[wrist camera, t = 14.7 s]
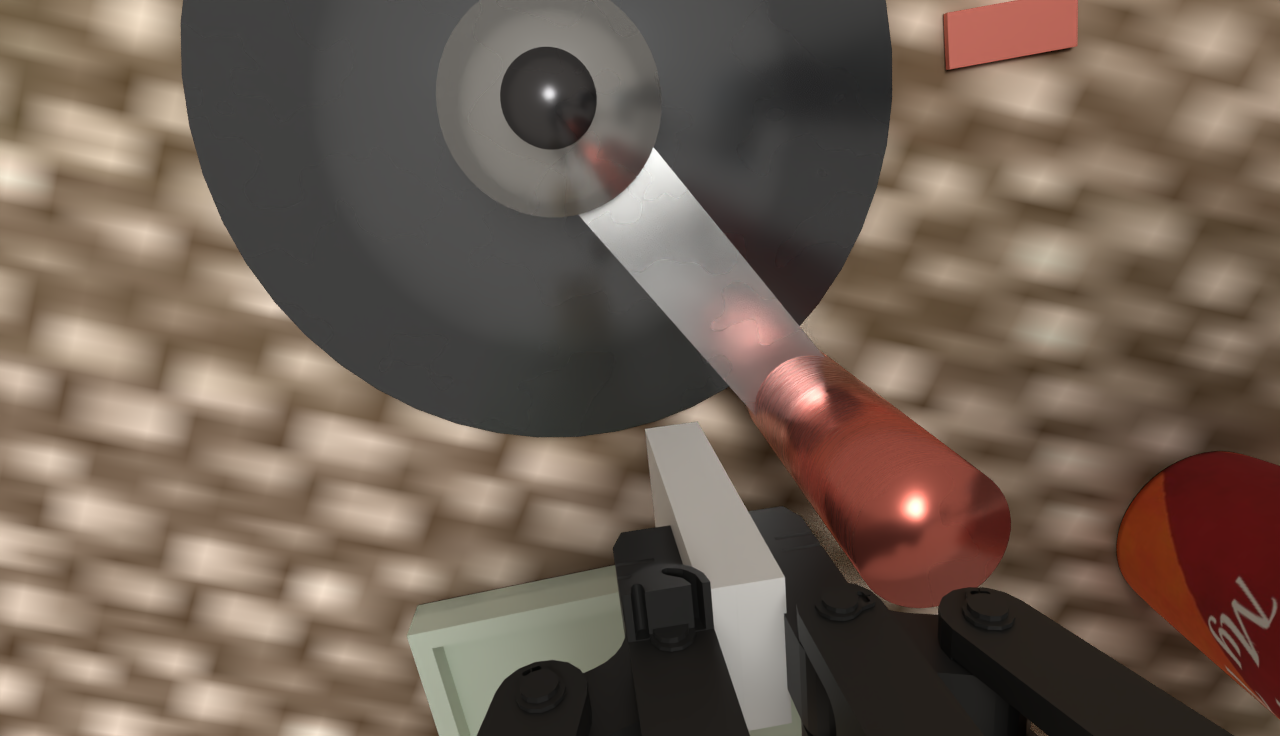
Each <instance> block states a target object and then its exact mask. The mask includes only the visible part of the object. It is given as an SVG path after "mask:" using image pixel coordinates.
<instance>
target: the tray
mask: <svg viewBox="0 0 1280 736" xmlns="http://www.w3.org/2000/svg"><path fill="white" fill-rule="evenodd" d="M407 638H408V641H409V644H410V647H411V650H412V654H413V657H414V660H415V663H416V666H417V669H418V672H419V675H420V678H421V681H422V684H423V687H424V690H425V694H426V697H427V700H428V703H429V706H430V709H431V712H432V715H433V718H434V721H435V724H436V727H437V730H438V734H439V736H477V734H478V731H479V729H480V727H481V725H482V722H483V720H484V718H485V715H486V713H487V711H488V708H489V706H490V704H491V701H492V699H493V697H494V694H495V692H496V691H497V689H498V688H499V686H500V685H501V684H502V682H503V681H504V679H506V678H507V677H508V676H510V675H511V674H512V673H513V672H515V671H516V670H517V669H519V668H522V667H524V666H527V665H529V664H531V663H534V662H539V661H547V660H557V661H563V662H569V663H570V664H572V665H574V666H575V667H577V668H579V669H580V670H581V671H582V673H585V672H587V671H589V670H592V669H594V668H596V667H598V666H599V665H601V664H603V663H605V662H606V661H608V660H609V659H610V658H611V657H612V656H614V655H615V654H616V652H617V651H618V650H619V649H620V647H621V646H622V643H623V641H624V638H625V634H624V628H623V621H622V614H621V607H620V599H619V592H618V584H617V576H616V568H615V565H613V566H608V567H603V568H598V569H593V570H588V571H583V572H579V573H574V574H569V575H564V576H559V577H554V578H549V579H544V580H540V581H535V582H530V583H525V584H520V585H515V586H510V587H505V588H500V589H496V590H491V591H486V592H481V593H476V594H471V595H466V596H461V597H457V598H452V599H447V600H442V601H437V602H432V603H427V604H422V605H418V606H417V609H416V612H415V614H414V617H413V620H412V623H411V626H410V628H409V631H408V634H407ZM791 716H792V723H789V724H783V725H778V726H772V727H767V728H761V729H756V730H750V731H749V734H750V736H802V728H801V718H800V716H799V714H798V712H797V709H796V707H795V705H794V703H793V700H792V698H791Z"/></svg>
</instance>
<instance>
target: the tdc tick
mask: <svg viewBox="0 0 1280 736" xmlns="http://www.w3.org/2000/svg"><path fill="white" fill-rule="evenodd" d="M1077 26H1078V0H1016V1H1011V2H1005V3H999V4H994V5H988V6H983V7H977V8H971V9H966V10H960V11H955V12H949V13H946V14H944V37H945V61H946V70H950V69H955V68H961V67H966V66H972V65H977V64H983V63H988V62H994V61H999V60H1005V59H1010V58H1016V57H1021V56H1027V55H1032V54H1038V53H1043V52H1049V51H1054V50H1060V49H1065V48H1071V47H1075V46H1077Z"/></svg>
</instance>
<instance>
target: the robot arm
mask: <svg viewBox="0 0 1280 736" xmlns="http://www.w3.org/2000/svg"><path fill="white" fill-rule="evenodd" d="M645 435H646V444H647V453H648V462H649V472H650V481H651V490H652V499H653V509H654V518H655V528H649V529H642V530H636V531H629V532H623V533H621V534H620V536H619V538H618V539H617V541H616V543H615V545H614V547H613V553H614V561H615V568H616V576H617V584H618V592H619V599H620V607H621V614H622V621H623V628H624V634H625V638H624V641H623V643H622V646H621V647H620V649H619V650H618V651H617V652H616V654H615V655H614V656H612V657H611V658H610V659H609V660H608V661H606V662H605V663H603V664H601V665H599V666H598V667H596V668H594V669H592V670H589V671H587V672H585V673H582V671H581V670H580V669H579V668H577V667H575V666H574V665H572V664H570V663H569V662H563V661H557V660H547V661H539V662H534V663H531V664H529V665H527V666H524V667H522V668H519V669H517V670H516V671H515V672H513V673H512V674H511V675H510V676H508V677H507V678H506V679H504V681H503V682H502V684H501V685H500V686H499V688H498V689H497V691H496V692H495V694H494V697H493V699H492V701H491V704H490V706H489V708H488V711H487V713H486V715H485V718H484V720H483V722H482V725H481V727H480V729H479V731H478V734H477V736H750V734H749V731H750V730H756V729H761V728H767V727H772V726H778V725H783V724H789V723H792V716H791V698H792V700H793V703H794V705H795V707H796V709H797V712H798V714H799V716H800V718H801V728H802V736H1038V735H1036V734H1035V733H1034V732H1033V731H1032V730H1030V728H1031V722H1032V723H1034V724H1035V725H1036V726H1037V727H1039V728H1040V729H1041V730H1042V731H1043V732H1045V733H1046V734H1047V735H1048V736H1233V735H1232V734H1230V733H1229V732H1227V731H1226V730H1224V729H1222V728H1221V727H1219V726H1218V725H1216V724H1215V723H1213V722H1211V721H1210V720H1208V719H1207V718H1205V717H1204V716H1202V715H1200V714H1199V713H1197V712H1196V711H1194V710H1193V709H1191V708H1189V707H1188V706H1186V705H1185V704H1183V703H1182V702H1180V701H1178V700H1177V699H1175V698H1174V697H1172V696H1171V695H1169V694H1167V693H1166V692H1164V691H1163V690H1161V689H1160V688H1158V687H1156V686H1155V685H1153V684H1152V683H1150V682H1149V681H1147V680H1145V679H1144V678H1142V677H1141V676H1139V675H1138V674H1136V673H1134V672H1133V671H1131V670H1130V669H1128V668H1127V667H1125V666H1123V665H1122V664H1120V663H1119V662H1117V661H1116V660H1114V659H1112V658H1111V657H1109V656H1108V655H1106V654H1105V653H1103V652H1101V651H1100V650H1098V649H1097V648H1095V647H1094V646H1092V645H1090V644H1089V643H1087V642H1086V641H1084V640H1083V639H1081V638H1079V637H1078V636H1076V635H1075V634H1073V633H1072V632H1070V631H1068V630H1067V629H1065V628H1064V627H1062V626H1061V625H1059V624H1058V623H1056V622H1054V621H1053V620H1051V619H1050V618H1048V617H1047V616H1045V615H1043V614H1042V613H1040V612H1039V611H1037V610H1036V609H1034V608H1032V607H1031V606H1029V605H1028V604H1026V603H1025V602H1023V601H1021V600H1019V599H1017V598H1015V597H1013V596H1011V595H1009V594H1007V593H1005V592H1001V591H997V590H993V589H989V588H977V587H967V588H962V589H957V590H953V591H951V592H950V593H948V594H946V595H945V596H943V597H942V599H941V602H940V604H939V606H938V615H931V614H913V613H902V612H894V611H890V610H888V609H887V607H886V606H885V605H884V603H883V602H882V601H881V599H879V598H878V597H877V596H876V595H875V594H874V593H873V592H871V591H870V590H868V589H865V588H863V587H861V586H859V585H856V584H851V583H847V581H846V580H845V578H844V577H843V575H842V574H841V573H840V571H839V570H838V568H837V567H836V566H835V564H834V563H833V561H832V560H831V558H830V557H829V556H828V554H827V553H826V551H825V550H824V548H823V547H822V546H820V543H819V541H818V540H817V538H816V537H815V536H814V534H812V531H811V530H810V529H809V527H808V526H807V524H806V523H805V521H804V520H803V519H802V517H800V516H799V515H797V514H795V513H794V512H792V511H790V510H788V509H787V508H785V507H783V506H781V507H774V508H768V509H761V510H755V511H748V510H747V509H746V507H745V505H744V503H743V502H742V500H741V498H740V496H739V494H738V493H737V491H736V489H735V487H734V485H733V484H732V482H731V480H730V478H729V477H728V475H727V473H726V471H725V469H724V468H723V466H722V464H721V462H720V461H719V459H718V457H717V455H716V453H715V452H714V450H713V448H712V446H711V445H710V443H709V441H708V439H707V437H706V436H705V434H704V432H703V430H702V428H701V427H700V425H699V423H698V422H691V423H684V424H677V425H669V426H662V427H655V428H648V429H645Z"/></svg>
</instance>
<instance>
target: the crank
mask: <svg viewBox="0 0 1280 736" xmlns="http://www.w3.org/2000/svg"><path fill="white" fill-rule="evenodd" d="M537 47H555V48H559V49H562V50H565V51H567V52H569V53H571V54H572V55H574V56H575V57H576V58H578V59H579V60H580V61H581V62H582V63H583V64H584V65H585V67H586V68H587V70H588V71H589V73H590V75H591V77H592V79H593V82H594V84H595V88H596V95H597V106H596V112H595V116H594V118H593V121H592V123H591V126H590V127H589V129H588V131H587V132H586V133H585V135H584V136H583V137H582V138H581V139H580V140H578V141H577V142H576V143H574V144H573V145H571V146H568V147H566V148H563V149H558V150H546V149H541V148H537V147H535V146H532V145H530V144H528V143H527V142H525V141H523V140H522V139H521V138H519V137H518V136H517V135H516V134H515V133H514V132H513V130H512V129H511V128H510V126H509V125H508V123H507V121H506V120H505V117H504V115H503V112H502V108H501V102H500V89H501V84H502V80H503V77H504V74H505V72H506V70H507V69H508V67H509V66H510V64H511V63H512V62H513V61H514V60H515V59H516V58H517V57H518V56H520V55H521V54H522V53H524V52H526V51H528V50H531V49H533V48H537ZM436 103H437V113H438V118H439V123H440V127H441V130H442V133H443V136H444V139H445V141H446V144H447V146H448V148H449V150H450V152H451V154H452V156H453V157H454V159H455V161H456V162H457V164H458V165H459V167H460V168H461V170H462V171H463V172H464V173H465V175H466V176H467V177H468V178H469V179H470V180H471V181H472V182H473V183H474V184H475V185H476V186H477V187H478V188H479V189H480V190H481V191H482V192H484V193H485V194H486V195H488V196H489V197H490V198H492V199H493V200H495V201H497V202H499V203H500V204H502V205H504V206H506V207H508V208H511V209H513V210H516V211H518V212H521V213H525V214H529V215H532V216H540V217H567V216H575V215H579V216H580V217H581V218H582V219H583V221H584V222H585V223H586V224H587V225H588V226H589V227H590V229H591V230H592V231H593V232H594V233H595V234H596V235H597V237H598V238H599V239H600V240H601V241H602V242H603V243H604V244H605V246H606V247H607V248H608V249H609V250H610V251H611V252H612V254H613V255H614V256H615V257H616V258H617V259H618V260H619V261H620V263H621V264H622V265H623V266H624V267H625V268H626V269H627V271H628V272H629V273H630V274H631V275H632V276H633V277H634V279H635V280H636V281H637V282H638V283H639V284H640V285H641V286H642V288H643V289H644V290H645V291H646V292H647V293H648V294H649V296H650V297H651V298H652V299H653V300H654V301H655V302H656V303H657V305H658V306H659V307H660V308H661V309H662V310H663V311H664V313H665V314H666V315H667V316H668V317H669V318H670V319H671V321H672V322H673V323H674V324H675V325H676V326H677V327H678V328H679V330H680V331H681V332H682V333H683V334H684V335H685V336H686V338H687V339H688V340H689V341H690V342H691V343H692V344H693V346H694V347H695V348H696V349H697V350H698V351H699V352H700V353H701V355H702V356H703V357H704V358H705V359H706V360H707V361H708V363H709V364H710V365H711V366H712V367H713V368H714V369H715V370H716V372H717V373H718V374H719V375H720V376H721V377H722V378H723V380H724V381H725V382H726V383H727V384H728V385H729V386H730V388H731V389H732V390H733V391H734V392H735V393H736V394H737V395H738V397H739V398H740V399H741V400H742V401H743V402H744V403H745V405H746V406H747V408H748V412H749V414H750V416H751V418H752V420H753V422H754V423H755V424H756V426H757V427H758V429H759V430H760V432H761V433H762V435H763V436H764V437H765V439H766V440H767V442H768V443H769V445H770V446H771V447H772V449H773V450H774V452H775V453H776V455H777V456H778V457H779V459H780V460H781V462H782V463H783V465H784V466H785V468H786V469H787V470H788V472H789V473H790V475H791V476H792V478H793V479H794V480H795V482H796V483H797V485H798V486H799V488H800V489H801V490H802V492H803V493H804V495H805V496H806V498H807V499H808V501H809V502H810V503H811V505H812V506H813V508H814V509H815V511H816V512H817V513H818V515H819V516H820V518H821V519H822V521H823V522H824V523H825V525H826V526H827V528H828V529H829V531H830V532H831V534H832V535H833V536H834V538H835V539H836V541H837V542H838V544H839V545H840V546H841V548H842V549H843V551H844V552H845V554H846V555H847V556H848V558H849V559H850V561H851V562H852V564H853V565H854V567H855V568H856V569H857V571H858V572H859V574H860V575H861V577H862V578H863V579H864V581H865V582H866V583H867V585H868V586H869V587H870V588H871V589H872V590H873V591H874V592H875V593H876V594H877V595H879V596H880V597H882V598H883V599H885V600H887V601H889V602H891V603H894V604H897V605H900V606H905V607H910V608H929V607H935V606H939V604H940V602H941V599H942V597H943V596H945V595H946V594H948V593H950V592H951V591H953V590H957V589H962V588H967V587H978V586H979V585H981V584H982V583H983V582H984V581H985V580H986V579H987V578H988V577H989V576H990V575H991V573H992V572H993V571H994V570H995V568H996V567H997V565H998V564H999V562H1000V560H1001V559H1002V557H1003V555H1004V552H1005V550H1006V548H1007V544H1008V541H1009V536H1010V531H1011V518H1010V511H1009V507H1008V504H1007V501H1006V499H1005V497H1004V495H1003V493H1002V492H1001V490H1000V489H999V487H998V486H997V485H996V484H995V483H994V482H993V481H992V480H991V479H989V478H988V477H987V476H986V475H984V474H983V473H982V472H980V471H979V470H978V469H976V468H975V467H974V466H972V465H971V464H970V463H969V462H967V461H966V460H965V459H963V458H962V457H961V456H959V455H958V454H957V453H955V452H954V451H953V450H951V449H950V448H949V447H947V446H946V445H945V444H943V443H942V442H941V441H939V440H938V439H937V438H935V437H934V436H933V435H931V434H930V433H929V432H927V431H926V430H925V429H923V428H922V427H921V426H920V425H918V424H917V423H916V422H914V421H913V420H912V419H910V418H909V417H908V416H906V415H905V414H904V413H902V412H901V411H900V410H898V409H897V408H896V407H894V406H893V405H892V404H890V403H889V402H888V401H886V400H885V399H884V398H882V397H881V396H880V395H878V394H877V393H876V392H874V391H873V390H872V389H871V388H869V387H868V386H867V385H865V384H864V383H863V382H861V381H860V380H859V379H857V378H856V377H855V376H853V375H852V374H851V373H849V372H848V371H847V370H845V369H844V368H843V367H841V366H840V365H839V364H837V363H836V362H835V361H833V360H832V359H831V358H829V357H828V356H827V355H825V354H824V353H822V352H821V351H819V350H818V348H817V347H816V346H815V345H814V343H813V342H812V341H811V340H810V339H809V337H808V336H807V335H806V334H805V332H804V331H803V330H802V329H801V327H800V326H799V325H798V324H797V323H796V321H795V320H794V319H793V318H792V316H791V315H790V314H789V313H788V312H787V310H786V309H785V308H784V307H783V305H782V304H781V303H780V302H779V301H778V299H777V298H776V297H775V296H774V294H773V293H772V292H771V291H770V289H769V288H768V287H767V286H766V285H765V283H764V282H763V281H762V280H761V278H760V277H759V276H758V275H757V274H756V272H755V271H754V270H753V269H752V267H751V266H750V265H749V264H748V263H747V261H746V260H745V259H744V258H743V256H742V255H741V254H740V253H739V251H738V250H737V249H736V248H735V247H734V245H733V244H732V243H731V242H730V240H729V239H728V238H727V237H726V236H725V234H724V233H723V232H722V231H721V229H720V228H719V227H718V226H717V225H716V223H715V222H714V221H713V220H712V218H711V217H710V216H709V215H708V213H707V212H706V211H705V210H704V209H703V207H702V206H701V205H700V204H699V202H698V201H697V200H696V199H695V198H694V196H693V195H692V194H691V193H690V191H689V190H688V189H687V188H686V187H685V185H684V184H683V183H682V182H681V180H680V179H679V178H678V177H677V175H676V174H675V173H674V172H673V171H672V169H671V168H670V167H669V166H668V164H667V163H666V162H665V161H664V160H663V158H662V157H661V156H660V155H659V153H658V152H657V151H656V150H655V149H654V145H655V142H656V138H657V134H658V131H659V126H660V119H661V103H662V96H661V87H660V80H659V76H658V71H657V67H656V64H655V61H654V59H653V56H652V53H651V51H650V49H649V47H648V45H647V43H646V41H645V39H644V37H643V36H642V34H641V33H640V31H639V30H638V28H637V27H636V26H635V24H634V23H633V22H632V21H631V20H630V18H629V17H628V16H627V15H626V14H625V13H624V12H623V11H622V10H621V9H620V8H619V7H617V6H616V5H615V4H614V3H613V2H611V1H610V0H480V1H478V2H477V3H476V4H475V5H474V6H473V7H471V8H470V9H469V10H468V12H467V13H466V14H465V15H464V16H463V17H462V18H461V19H460V21H459V22H458V24H457V25H456V27H455V28H454V30H453V31H452V33H451V35H450V37H449V39H448V41H447V43H446V45H445V47H444V50H443V53H442V56H441V60H440V63H439V68H438V74H437V81H436Z"/></svg>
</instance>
